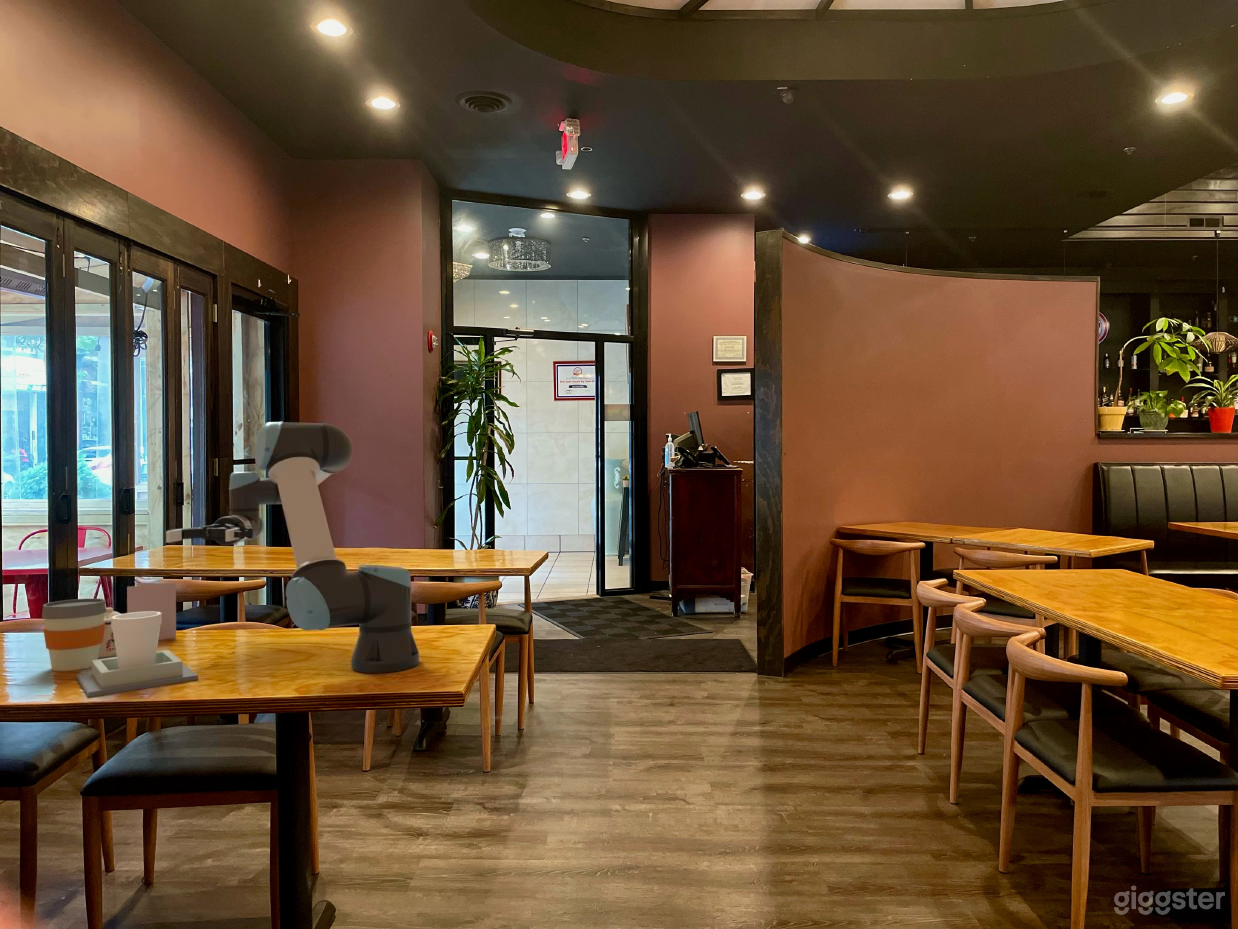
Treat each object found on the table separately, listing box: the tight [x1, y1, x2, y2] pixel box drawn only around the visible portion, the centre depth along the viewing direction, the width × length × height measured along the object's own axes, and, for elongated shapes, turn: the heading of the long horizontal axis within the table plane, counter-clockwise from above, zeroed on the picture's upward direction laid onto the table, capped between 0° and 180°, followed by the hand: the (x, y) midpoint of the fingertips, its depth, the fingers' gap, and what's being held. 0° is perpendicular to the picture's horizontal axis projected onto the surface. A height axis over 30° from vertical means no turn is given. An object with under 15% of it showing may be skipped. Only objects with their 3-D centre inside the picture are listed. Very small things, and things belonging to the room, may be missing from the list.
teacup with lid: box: [98, 607, 121, 659], centre depth 200 cm, size 12×9×12 cm
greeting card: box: [126, 582, 177, 641], centre depth 215 cm, size 11×7×15 cm, turn 82°
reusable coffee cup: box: [41, 598, 107, 672], centre depth 186 cm, size 13×12×15 cm
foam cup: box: [111, 611, 162, 669], centre depth 174 cm, size 10×9×13 cm
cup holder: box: [76, 649, 199, 698], centre depth 174 cm, size 20×20×4 cm
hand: (197, 536), depth 190 cm, fingers open, 13 cm apart
